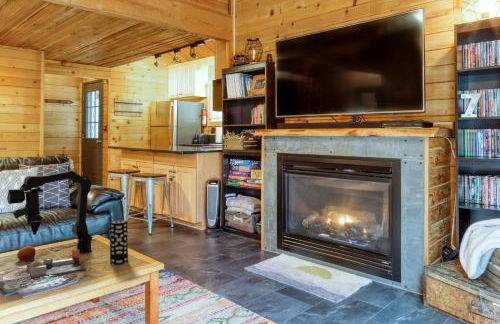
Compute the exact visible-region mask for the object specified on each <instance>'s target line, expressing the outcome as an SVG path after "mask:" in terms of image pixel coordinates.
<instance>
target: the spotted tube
mask: <svg viewBox="0 0 500 324" xmlns="http://www.w3.org/2000/svg"><path fill="white" fill-rule="evenodd" d="M128 222H129V221H128V220H123V219H120V220H119V219H118V220H117V219H116V220H111V221H109V264H110V265H111V266H112V265H113V266H121V265H125V264H128V263H129V243H128V242H129V236H128V235H129V233H128V232H129V231H128V230H129V229H128V228H129V227H128Z"/></svg>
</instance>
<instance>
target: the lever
mask: <svg viewBox="0 0 500 324" xmlns="http://www.w3.org/2000/svg"><path fill="white" fill-rule="evenodd" d="M71 258H72V259H66V258H64V259H65V260H59V259H57V260H58V261H53V260H54V259H53V258H52V257H49V258H48V257H47V258H44V259H43V260H40V261H41V262H42V263H43V264H44V265H46V267H50V266H54V265H61V264H67V263H73V262H79V261H81V260H80V253H79V249H77V248H75V249H71ZM34 262H35V261H33V262H32V264H33V263H34Z"/></svg>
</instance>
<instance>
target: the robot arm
mask: <svg viewBox="0 0 500 324" xmlns="http://www.w3.org/2000/svg"><path fill="white" fill-rule="evenodd" d="M64 180H71V182H73V183H74V184H75V185H76V186H75V187H76V191H77V196H78V197H77V211H76V221H75V223H74V224H71V226H72V227H71V233H72V235H73V236H74V237H75V238H76V240H77V242H76V249H79V254H86V253H91V252H93V250H92V241H93V236H92V235H91V234H90V233H89V227H88V224H87V220H86V219H87V211H88V210H87V209H88V207H87V206H88V196H89V193H90V191H91V188H92V180H91V179H90V178H87V177H83V176H82V175H80V174H78V173H76V172H75V171H73V170H67V171H61V172H57V173H52V174H46V175H27V176H26V177H25V178H24V179H23V183H22V185H21V186H20V187H19V188H18V189H8V190H7V195H6V200H7V204H8V205H14V204H22V203H24V201H25V204H24V207H20V208H18V209H16V210H13V211H12V214H13V216H14V219H19V218H20V217H23V216H24V217H25V219H26V222H27V224H29V225H30V230H31V232H32V234H33V236H36V235H37V233H38V230H39V228H40V226H41V223H42V222H43V216H42V215H41V211H40V206H41V205H40V204H41V203H40V193H43V192H44V189H42V188H41V186H44V185H47V184H48V183H53V182H60V181H64Z"/></svg>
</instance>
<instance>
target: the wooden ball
mask: <svg viewBox="0 0 500 324" xmlns="http://www.w3.org/2000/svg"><path fill="white" fill-rule="evenodd" d="M41 261H42V260H36V261H33V262H34V263H33V262H32V263H31V264H32V265H31V267H37V266H43V265H44V264H43V263H42V262H41Z"/></svg>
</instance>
